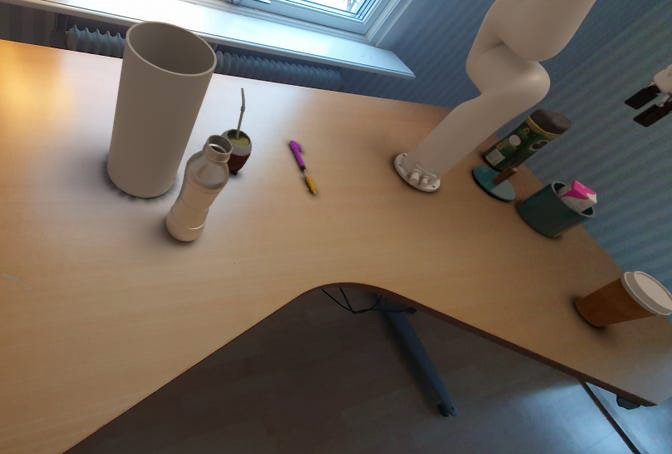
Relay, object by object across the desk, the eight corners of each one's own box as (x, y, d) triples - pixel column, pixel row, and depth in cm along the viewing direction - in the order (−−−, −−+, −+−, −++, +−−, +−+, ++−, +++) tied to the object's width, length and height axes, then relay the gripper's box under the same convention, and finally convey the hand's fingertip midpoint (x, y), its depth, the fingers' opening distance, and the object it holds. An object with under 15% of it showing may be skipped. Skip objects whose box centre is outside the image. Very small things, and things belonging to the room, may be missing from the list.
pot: (559, 245, 96) (598, 225, 89) (517, 218, 98) (553, 197, 91) (556, 219, 103) (592, 199, 96) (517, 195, 105) (550, 173, 98)
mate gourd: (230, 185, 74) (262, 127, 63) (198, 163, 75) (224, 102, 63) (246, 166, 79) (278, 109, 67) (215, 146, 80) (242, 86, 68)
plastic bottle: (173, 250, 61) (212, 166, 46) (156, 218, 64) (187, 129, 49) (206, 240, 64) (252, 159, 49) (188, 210, 67) (227, 124, 52)
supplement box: (550, 220, 101) (597, 193, 92) (548, 230, 98) (597, 204, 89) (531, 206, 103) (575, 178, 94) (528, 216, 99) (574, 188, 90)
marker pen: (288, 142, 88) (311, 194, 79) (291, 138, 87) (315, 191, 78) (296, 145, 89) (319, 197, 81) (299, 141, 88) (324, 194, 80)
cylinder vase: (93, 161, 68) (107, 25, 48) (148, 142, 74) (179, 17, 55) (132, 209, 64) (164, 83, 44) (186, 185, 71) (234, 67, 51)
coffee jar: (499, 155, 116) (561, 107, 102) (514, 174, 112) (581, 126, 98) (477, 151, 114) (537, 101, 99) (491, 170, 109) (557, 121, 95)
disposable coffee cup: (560, 292, 84) (622, 267, 75) (587, 294, 87) (651, 270, 78) (589, 333, 79) (659, 312, 70) (617, 334, 82) (689, 313, 72)
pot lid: (512, 209, 100) (536, 194, 95) (470, 183, 101) (491, 166, 96) (512, 185, 107) (534, 170, 102) (472, 161, 109) (493, 145, 104)
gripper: (709, 20, 75) (611, 91, 89) (741, 43, 65) (625, 121, 78) (746, 39, 74) (642, 108, 87) (785, 66, 64) (660, 140, 77)
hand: (634, 114), depth 83 cm, fingers open, 9 cm apart
